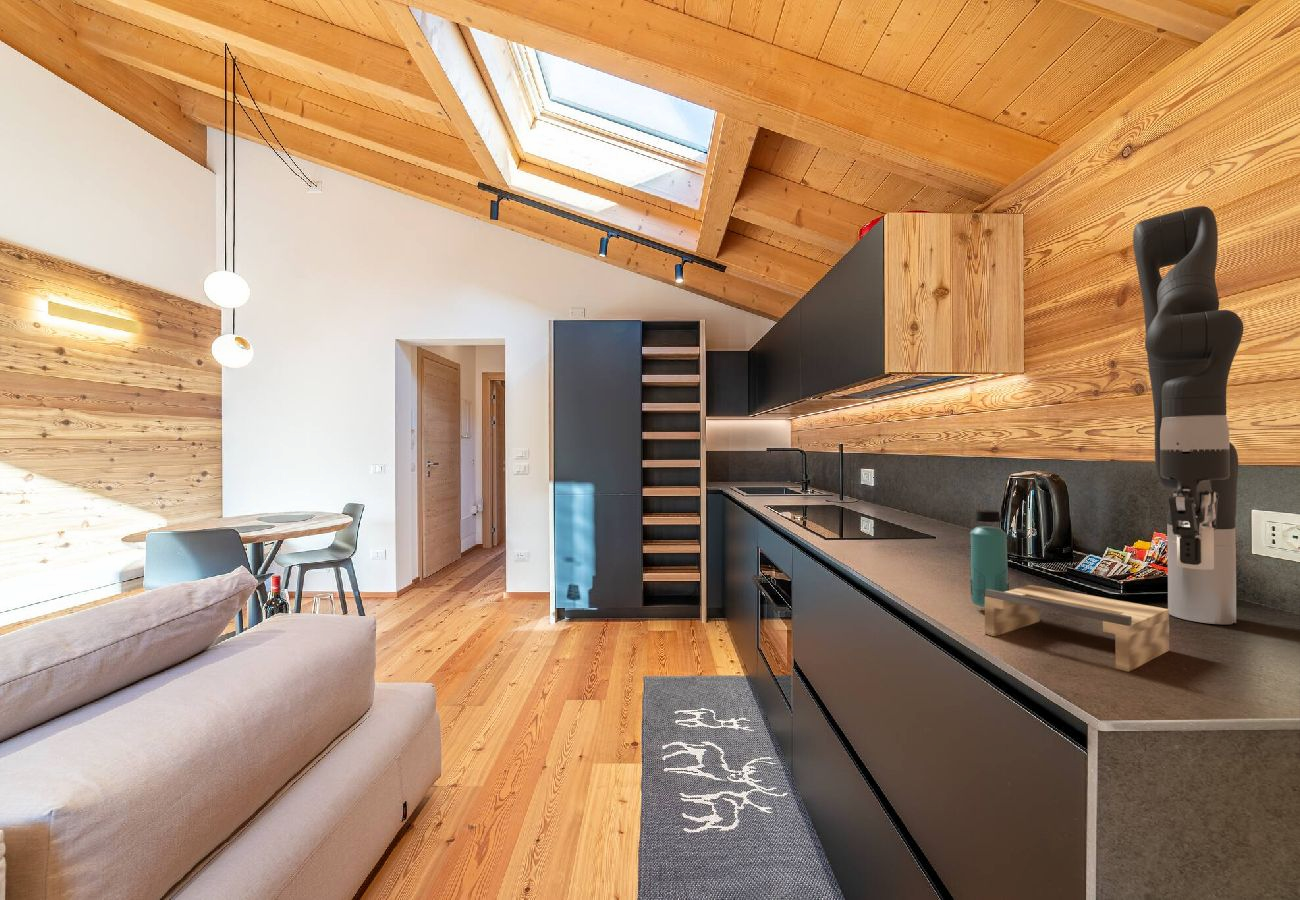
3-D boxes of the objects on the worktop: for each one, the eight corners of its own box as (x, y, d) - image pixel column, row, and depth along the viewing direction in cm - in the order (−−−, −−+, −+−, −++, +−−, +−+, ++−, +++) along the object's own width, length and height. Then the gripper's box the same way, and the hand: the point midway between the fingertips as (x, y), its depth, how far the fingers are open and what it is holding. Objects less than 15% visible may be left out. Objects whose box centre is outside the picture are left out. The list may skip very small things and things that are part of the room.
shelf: (1030, 619, 107) (1030, 578, 107) (1169, 650, 90) (1168, 601, 90) (984, 634, 99) (984, 589, 99) (1128, 671, 82) (1127, 618, 82)
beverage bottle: (1015, 617, 109) (1013, 512, 109) (976, 615, 110) (975, 511, 110) (1001, 607, 115) (1000, 508, 115) (965, 606, 117) (964, 508, 117)
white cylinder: (1181, 563, 88) (1181, 524, 88) (1217, 567, 85) (1217, 526, 85) (1173, 566, 86) (1172, 526, 86) (1209, 570, 83) (1209, 529, 83)
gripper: (1176, 446, 93) (1177, 553, 93) (1144, 447, 85) (1146, 564, 85) (1241, 446, 86) (1243, 560, 86) (1214, 447, 78) (1216, 572, 78)
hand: (1195, 561), depth 85 cm, fingers closed on white cylinder, 4 cm apart
